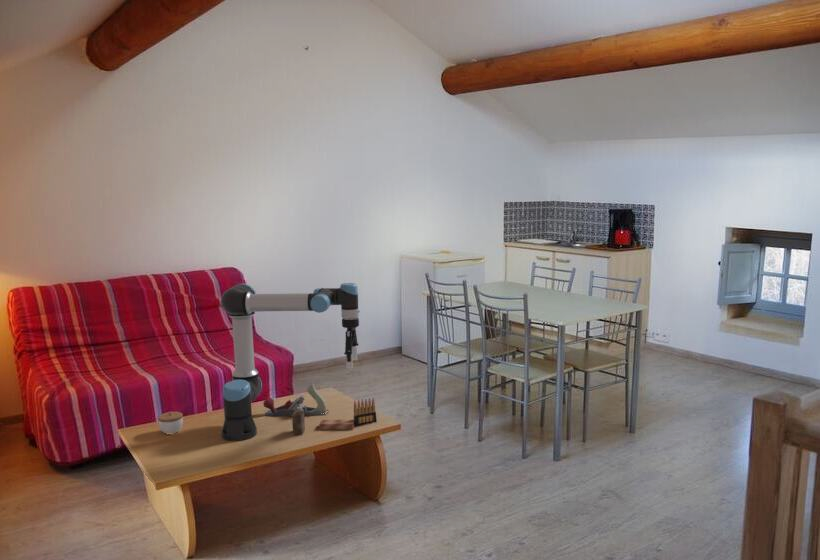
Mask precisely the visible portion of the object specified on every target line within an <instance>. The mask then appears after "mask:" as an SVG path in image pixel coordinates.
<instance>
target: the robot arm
mask: <svg viewBox="0 0 820 560" xmlns="http://www.w3.org/2000/svg"><path fill="white" fill-rule="evenodd" d="M220 304H221V307H222V309H223V310H224V311H225V312H226V313H227V314H228V317H229V318H231V321H232V336H233V337H232V338H233V353H234V364H235V365H234V368H235V370H234V371H233V372H232V380H231V381H227V382H226V383H225V384H224V385H223V387H222V400H223V412H224V413H223V414H224V421H223V425H222V428H221V438H222V439H223V440H226V441H230V440H238V441H244V440H248V439H251V438H253V437H255V436H256V435H257V434H258V428H257V425H256V422H255V421H254V418H253V415H252V413H253V412H252V403H253V402H254V401H255V399H257V397H259V395H260V394H261V392H262V387H263V383H262V380H261V379H262V378H260V377H259V376H260V375H259V370H257V368H256V367H255V351H254V334H253V333H254V331H253V316H255V314H256V313H257V312H258V313H259V312H303V311H304V312H316V313H323V312H326V311H327V310H329V308H330V307H331V306H341V307H340V308H341V309H340V311H341V314H340V315H341V327H342V328H344V329H346V331H345V343H344V344H345V347H344V349H345V350H344V352H343V355H345V362H346V363H345V365H346V367H345V368H346V369H348V370H349V369H350V370H353V369H354V363H353V361H358V346H359V343H358V337H357V328H358V327H359V326H360V319H359V313H360V312H361V311H360V310H359V292H358V285H357V284H356V283H354V282H343V283H341V284H340V287H335V288H332V287H330V288H328V287H327V288H326V287H325V288H323V287H320V288H315V289H314V290H313V292H312V293H308V292H306V293H301V292H299V293H256V290H255V288H254V287H253V286H251V285H249V284H247V283H239V284H235V285H233V286H232V287H231V288H228V289H227V290H225V291H224V292H223V293H222V295H221V298H220Z"/></svg>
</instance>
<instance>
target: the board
mask: <svg viewBox="0 0 820 560" xmlns="http://www.w3.org/2000/svg"><path fill="white" fill-rule="evenodd" d="M318 427H319V430H354V428H355V424H354V419H321V420H320V421H319V426H318Z"/></svg>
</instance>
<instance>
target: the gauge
mask: <svg viewBox="0 0 820 560" xmlns="http://www.w3.org/2000/svg"><path fill="white" fill-rule="evenodd" d="M291 422H292V423H291V424H292V436H302V435H304V432H305V431H306V425H305V424H306V423H305V416H304V411H303V410H300V411H295V412H294V413H293V414H292V416H291Z"/></svg>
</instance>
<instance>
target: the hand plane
mask: <svg viewBox="0 0 820 560" xmlns="http://www.w3.org/2000/svg"><path fill="white" fill-rule="evenodd" d="M306 392H307V393H308V394H309V395H310V396H311V397H312V398H313V399H314V400H315V403H317V406H316V407H309V406H307V405H304V404H303V403H304V401H305V400H306V398H305V397H304V396H303V395H301V396H300V395H298V396H297V397H296V399H295V400H293V401H291V400H290V399H288V400H287V401H286V402H285V403H284V404H283V405H281V406H279V407H275V401H274V398H272V397H269V398H266V399H265V400H264V401H263V407H265V408H267V409H269V410H267V411H266V412H265V413H264V416H265V417H289V416H290V417H292V414H293V413H294V412H295V411H300V410H303V411H304V415H308V416H327V415H328V414H329V413H328V412H329V409H327V404H326V401H325V399H324V398H323V397H322V395H320V393H319V392H318V391H317V389H316V387H315V384H314V383H311V384H310V385H309V386H308V388H307V389H306ZM326 410H327V411H328V412H327V413H328V414H327V413H326V414H327V415H326V414H325V412H326ZM321 413H322V414H321ZM323 413H324V414H323Z"/></svg>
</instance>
